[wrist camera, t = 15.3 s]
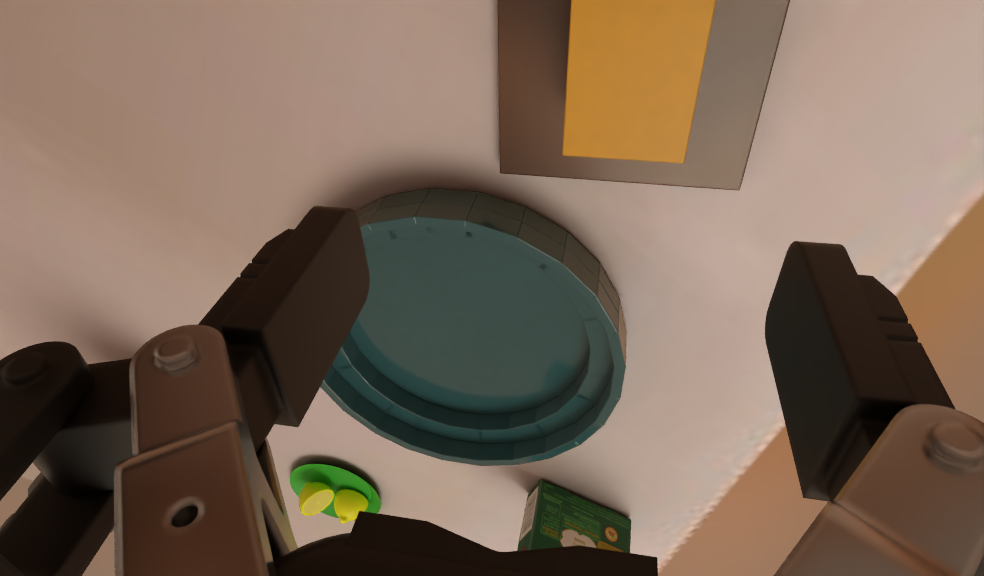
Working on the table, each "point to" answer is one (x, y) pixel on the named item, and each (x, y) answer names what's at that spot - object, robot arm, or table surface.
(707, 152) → the board
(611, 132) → the block
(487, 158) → the table surface
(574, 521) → the coffee box
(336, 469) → the lemons on green plate
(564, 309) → the teal plate
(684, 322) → the table surface
